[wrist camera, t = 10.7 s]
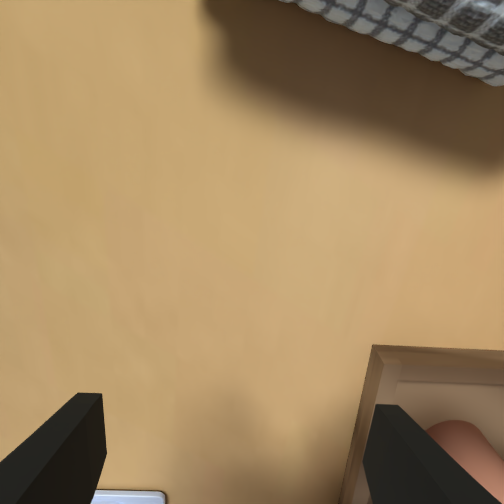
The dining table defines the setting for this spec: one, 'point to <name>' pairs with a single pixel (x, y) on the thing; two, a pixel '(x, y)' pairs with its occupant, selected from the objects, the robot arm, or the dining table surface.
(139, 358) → the dining table surface
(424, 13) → the towel
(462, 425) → the dowel
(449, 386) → the tray
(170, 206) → the dining table surface
